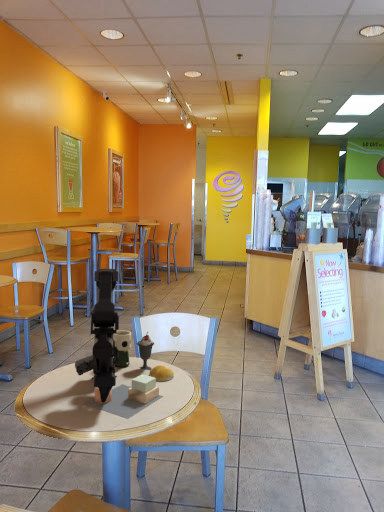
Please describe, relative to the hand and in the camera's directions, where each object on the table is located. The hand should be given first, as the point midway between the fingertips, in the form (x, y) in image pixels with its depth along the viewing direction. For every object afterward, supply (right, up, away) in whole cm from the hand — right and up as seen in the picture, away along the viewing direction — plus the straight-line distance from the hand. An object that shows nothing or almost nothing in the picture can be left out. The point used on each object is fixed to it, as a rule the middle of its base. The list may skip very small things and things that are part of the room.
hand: (102, 397), depth 126 cm
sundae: (+10, +1, +29) cm, 31 cm away
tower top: (+12, +2, +3) cm, 13 cm away
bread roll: (+17, -1, +22) cm, 27 cm away
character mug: (0, +1, +32) cm, 32 cm away
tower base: (+12, -1, +3) cm, 13 cm away
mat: (+7, -1, +1) cm, 7 cm away
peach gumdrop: (0, -1, 0) cm, 1 cm away
